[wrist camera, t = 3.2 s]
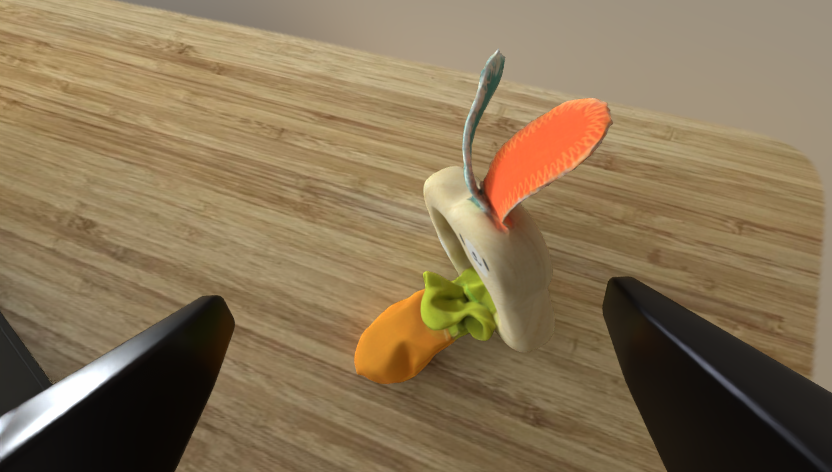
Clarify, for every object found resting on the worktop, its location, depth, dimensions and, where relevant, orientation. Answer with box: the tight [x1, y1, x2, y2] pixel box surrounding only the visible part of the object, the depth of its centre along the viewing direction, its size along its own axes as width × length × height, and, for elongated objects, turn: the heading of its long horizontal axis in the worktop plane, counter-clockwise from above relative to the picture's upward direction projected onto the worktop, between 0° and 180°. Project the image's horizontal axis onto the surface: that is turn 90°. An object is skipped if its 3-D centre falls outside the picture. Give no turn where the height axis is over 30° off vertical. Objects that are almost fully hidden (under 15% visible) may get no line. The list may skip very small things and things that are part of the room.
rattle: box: [354, 49, 613, 384], centre depth 11 cm, size 8×8×12 cm
